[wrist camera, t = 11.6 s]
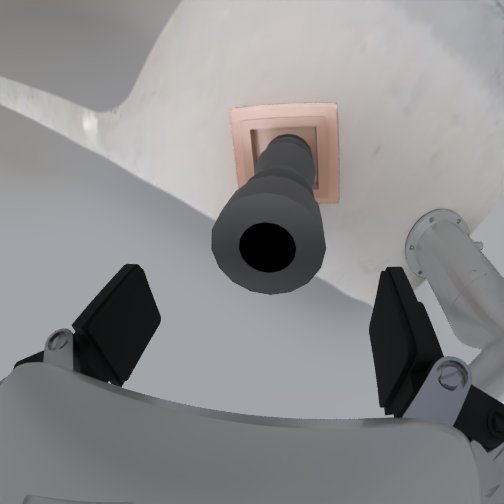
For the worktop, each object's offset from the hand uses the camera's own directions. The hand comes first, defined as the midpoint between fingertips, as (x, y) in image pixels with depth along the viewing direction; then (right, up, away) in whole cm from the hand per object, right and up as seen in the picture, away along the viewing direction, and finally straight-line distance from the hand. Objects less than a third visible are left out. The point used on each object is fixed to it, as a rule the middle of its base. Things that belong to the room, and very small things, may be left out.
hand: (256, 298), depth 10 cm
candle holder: (+5, +15, +25) cm, 29 cm away
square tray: (+5, +15, +25) cm, 30 cm away
